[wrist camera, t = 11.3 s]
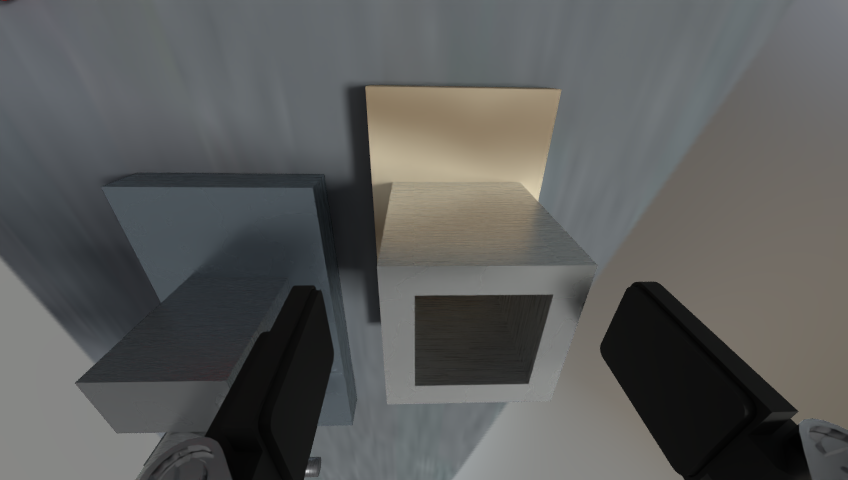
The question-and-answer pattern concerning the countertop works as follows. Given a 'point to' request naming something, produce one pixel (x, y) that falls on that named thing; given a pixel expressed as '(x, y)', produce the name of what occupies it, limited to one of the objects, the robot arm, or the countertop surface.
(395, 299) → the white hollow square block
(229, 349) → the grey peg stand
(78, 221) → the countertop surface
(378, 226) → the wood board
